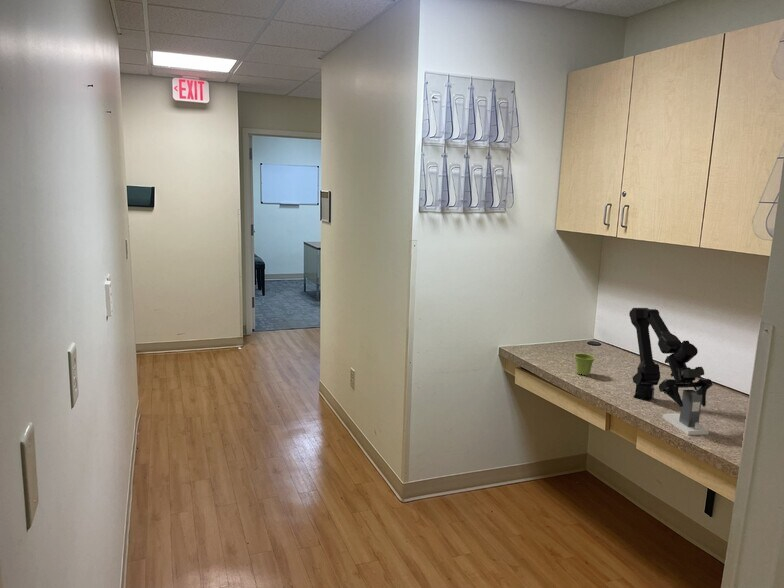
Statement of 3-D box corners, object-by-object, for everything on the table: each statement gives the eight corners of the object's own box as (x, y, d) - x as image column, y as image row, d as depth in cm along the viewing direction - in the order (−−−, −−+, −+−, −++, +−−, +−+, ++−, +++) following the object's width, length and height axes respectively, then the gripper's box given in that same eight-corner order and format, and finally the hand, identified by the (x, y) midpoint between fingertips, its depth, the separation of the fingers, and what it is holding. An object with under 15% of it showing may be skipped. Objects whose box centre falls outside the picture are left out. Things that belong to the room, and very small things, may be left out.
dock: (662, 417, 225) (663, 407, 224) (681, 416, 226) (682, 407, 225) (687, 434, 209) (689, 424, 208) (708, 434, 210) (709, 424, 209)
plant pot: (585, 370, 281) (587, 353, 279) (597, 376, 272) (599, 358, 271) (568, 371, 279) (570, 353, 277) (579, 377, 270) (581, 359, 268)
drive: (679, 421, 218) (683, 389, 215) (688, 420, 218) (693, 389, 216) (688, 427, 212) (692, 395, 210) (698, 427, 213) (702, 395, 210)
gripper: (666, 358, 213) (681, 398, 205) (713, 358, 216) (729, 397, 207) (652, 372, 223) (665, 410, 214) (697, 371, 225) (712, 409, 216)
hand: (693, 406), depth 212 cm, fingers open, 9 cm apart
